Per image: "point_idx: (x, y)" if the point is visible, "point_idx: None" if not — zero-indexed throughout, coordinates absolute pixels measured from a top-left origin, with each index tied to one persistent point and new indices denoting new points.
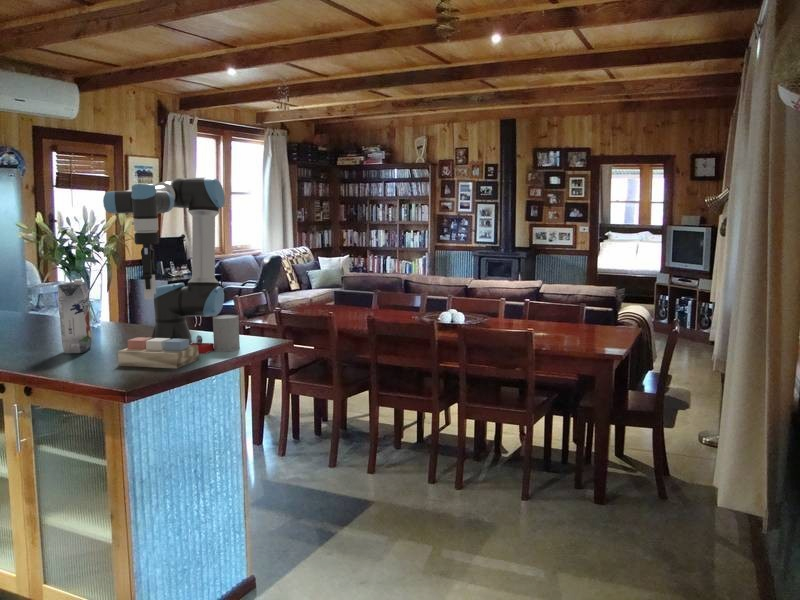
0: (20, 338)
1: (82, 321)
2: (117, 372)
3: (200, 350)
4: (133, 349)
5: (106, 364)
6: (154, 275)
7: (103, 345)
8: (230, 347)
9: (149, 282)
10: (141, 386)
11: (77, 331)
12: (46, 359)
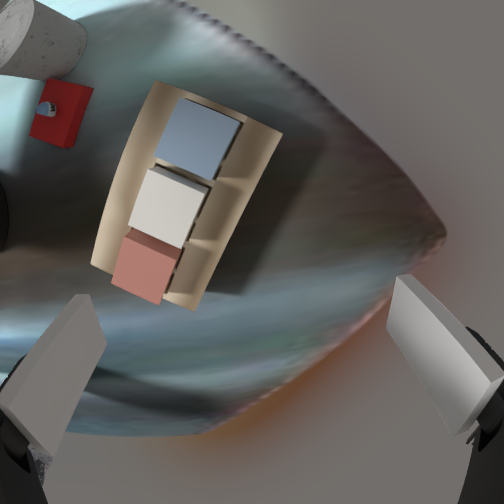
0: None
1: None
2: (278, 282)
3: (84, 101)
4: (176, 275)
5: (179, 318)
6: (14, 405)
7: (18, 334)
8: (81, 30)
9: (500, 363)
10: (428, 211)
11: None
12: (126, 404)
